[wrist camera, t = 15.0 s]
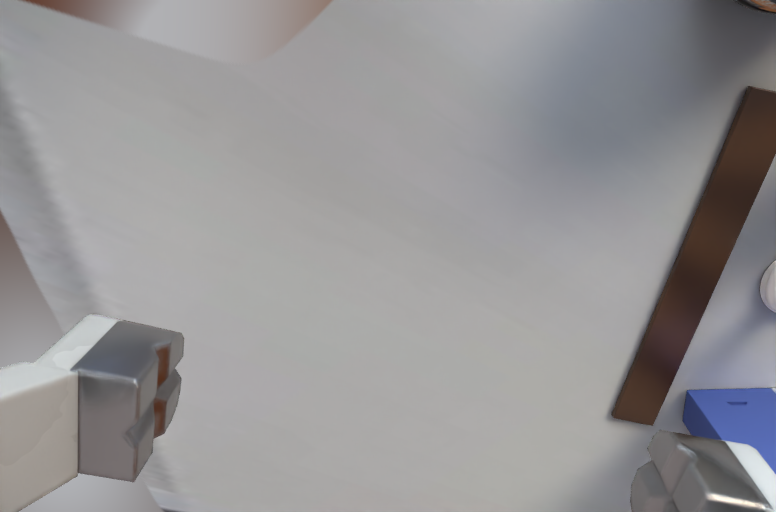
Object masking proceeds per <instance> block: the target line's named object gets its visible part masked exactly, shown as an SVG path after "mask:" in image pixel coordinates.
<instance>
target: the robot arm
mask: <svg viewBox="0 0 776 512" xmlns="http://www.w3.org/2000/svg"><path fill="white" fill-rule="evenodd" d="M183 351H184V337H183V335H182V333H180V332H176V331H171V330H167V329H162V328H158V327H153V326H149V325H144V324H139V323H135V322H130V321H126V320H121V319H118V318H112V317H107V316H102V315H96V314H91V315H87V316H85V317H84V318H83V319H82V320H81V321H80V322H78V323H77V324H76V325H75V326H74V327H73V328H72V329H71V330H69V331H68V332H67V333H66V334H65V335H64V336H63V337H62V338H60V339H59V340H58V341H57V342H56V343H55V344H54V345H53V346H52V347H50V348H49V349H48V350H47V351H46V352H45V353H44V354H43V355H41V357H39V358H38V359H37V360H36V361H35V362H34V363H28V362H20V363H16V364H13V365H9V366H6V367H3V368H0V512H18V511H20V510H22V509H23V508H25V507H27V506H28V505H30V504H32V503H33V502H35V501H37V500H38V499H40V498H42V497H43V496H45V495H47V494H48V493H50V492H52V491H53V490H55V489H57V488H58V487H60V486H62V485H63V484H65V483H67V482H68V481H70V480H72V479H73V478H75V477H77V475H78V473H81V474H87V475H94V476H99V477H106V478H112V479H118V480H124V481H130V482H134V481H135V480H136V478H137V476H138V475H139V473H140V472H141V470H142V469H143V467H144V465H145V464H146V462H147V461H148V459H149V457H150V456H151V454H152V453H153V440H154V438H156V437H158V436H160V435H162V434H164V433H165V431H166V429H167V428H168V426H169V424H170V423H171V421H172V418H173V415H174V413H175V410H176V407H177V404H178V399H179V395H180V388H181V377H180V375H179V374H178V372H177V371H176V369H175V367H176V366H177V364H178V363H179V361H180V360H181V359H182V357H183ZM647 449H648V452H649V455H650V458H651V461H650V462H648V463H647V464H645V465H643V466H642V467H640V468H639V469H638V470H637V473H636V475H635V477H634V480H633V482H632V485H631V497H630V503H631V509H632V512H776V474H775V473H774V471H773V470H772V469H771V468H770V466H769V465H768V464H767V462H766V461H765V460H764V459H763V457H762V456H761V455H760V453H759V452H758V451H757V450H756V449H755V448H753V447H751V446H750V445H748V444H742V443H736V442H730V441H724V440H716V439H710V438H704V437H699V436H693V435H687V434H682V433H676V432H670V431H665V430H659V431H658V432H657V433H656V434H655V435H654V436H653V438H652V440H651V442H650V444H649V446H648V448H647Z"/></svg>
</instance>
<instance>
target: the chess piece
mask: <svg viewBox="0 0 776 512" xmlns="http://www.w3.org/2000/svg"><path fill="white" fill-rule="evenodd" d="M760 295H761V298H762V301H763V302H764V304H765V305H766V306H767V307H768V308H769V309H770V310H771V311H773V312H775V313H776V260H775V261H774V262H773V263H772V264H771V265H770V266H769V267H768V269H767V270H766V272H765V273H764V275H763V277H762V280H761V284H760Z"/></svg>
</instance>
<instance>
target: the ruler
mask: <svg viewBox="0 0 776 512" xmlns="http://www.w3.org/2000/svg"><path fill="white" fill-rule="evenodd" d="M775 154H776V92H774V91H770V90H765V89H761V88H756V87H751V86H748V88H747V90H746V93H745V95H744V97H743V100H742V102H741V105H740V107H739V109H738V112H737V114H736V117H735V119H734V121H733V124H732V126H731V129H730V131H729V133H728V136H727V138H726V141H725V143H724V145H723V148H722V150H721V153H720V155H719V157H718V160H717V162H716V165H715V167H714V169H713V172H712V174H711V177H710V179H709V181H708V184H707V186H706V189H705V191H704V193H703V196H702V198H701V201H700V203H699V205H698V208H697V210H696V213H695V215H694V217H693V220H692V222H691V225H690V227H689V229H688V232H687V234H686V237H685V239H684V241H683V244H682V246H681V249H680V251H679V253H678V256H677V258H676V261H675V263H674V265H673V268H672V270H671V273H670V275H669V278H668V280H667V282H666V285H665V287H664V290H663V292H662V294H661V297H660V299H659V302H658V304H657V306H656V309H655V311H654V314H653V316H652V318H651V321H650V323H649V326H648V328H647V330H646V333H645V335H644V338H643V340H642V342H641V345H640V347H639V350H638V352H637V354H636V357H635V359H634V362H633V364H632V366H631V369H630V371H629V374H628V376H627V378H626V381H625V383H624V386H623V388H622V390H621V393H620V395H619V398H618V400H617V402H616V405H615V407H614V410H613V412H612V416H613V418H616V419H621V420H626V421H631V422H636V423H641V424H646V425H651V426H653V424H654V422H655V419H656V417H657V415H658V413H659V411H660V408H661V406H662V404H663V402H664V400H665V397H666V395H667V393H668V391H669V388H670V386H671V384H672V382H673V380H674V377H675V375H676V373H677V371H678V369H679V366H680V364H681V362H682V360H683V358H684V355H685V353H686V351H687V349H688V346H689V344H690V342H691V340H692V338H693V335H694V333H695V331H696V329H697V327H698V324H699V322H700V320H701V318H702V316H703V313H704V311H705V309H706V307H707V305H708V302H709V300H710V298H711V296H712V293H713V291H714V289H715V287H716V285H717V282H718V280H719V278H720V276H721V274H722V271H723V269H724V267H725V265H726V263H727V260H728V258H729V256H730V254H731V251H732V249H733V247H734V245H735V243H736V240H737V238H738V236H739V234H740V232H741V229H742V227H743V225H744V223H745V221H746V218H747V216H748V214H749V212H750V210H751V207H752V205H753V203H754V201H755V198H756V196H757V194H758V192H759V190H760V187H761V185H762V183H763V181H764V179H765V176H766V174H767V172H768V170H769V168H770V165H771V163H772V161H773V159H774V157H775Z"/></svg>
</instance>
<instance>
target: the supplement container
mask: <svg viewBox="0 0 776 512" xmlns="http://www.w3.org/2000/svg"><path fill="white" fill-rule="evenodd" d="M733 1H735V2H737V3H738V4H740V5H742V6H744V7H747V8H749V9H752V10H755V11H758V12H762V13H769V14H776V0H733Z"/></svg>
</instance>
